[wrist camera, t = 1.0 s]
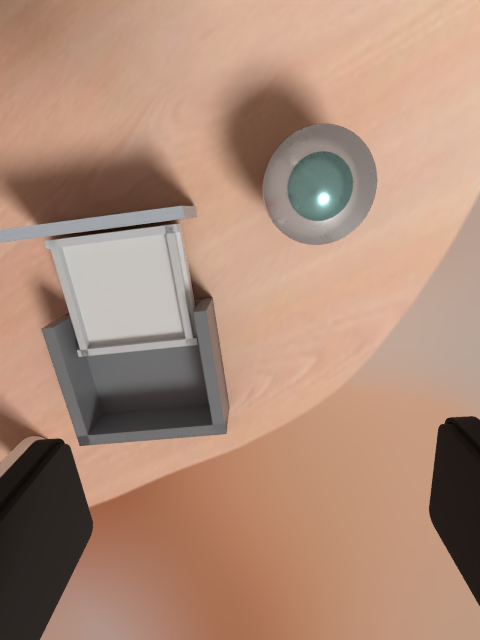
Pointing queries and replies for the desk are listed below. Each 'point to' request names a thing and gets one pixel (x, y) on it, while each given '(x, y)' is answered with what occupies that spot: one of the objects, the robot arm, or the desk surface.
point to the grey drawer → (123, 280)
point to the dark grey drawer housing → (143, 386)
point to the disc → (319, 184)
